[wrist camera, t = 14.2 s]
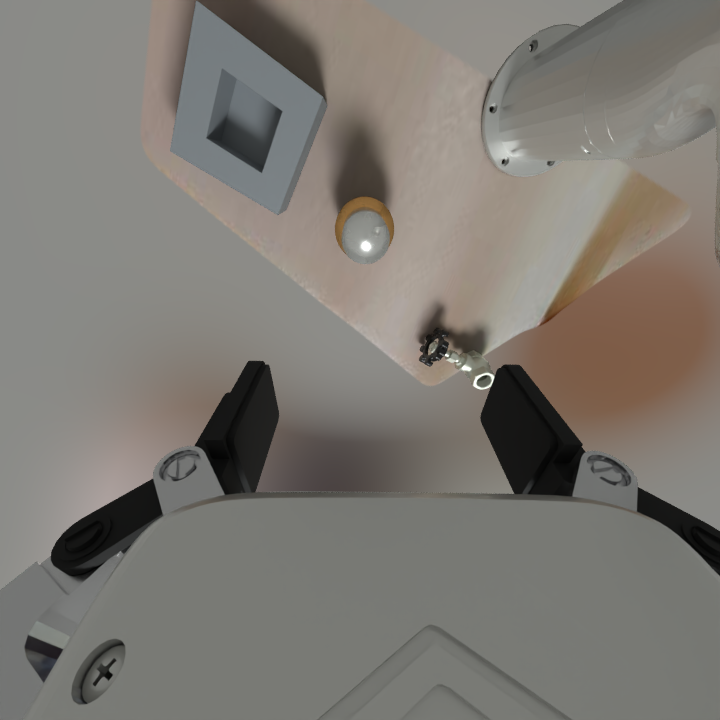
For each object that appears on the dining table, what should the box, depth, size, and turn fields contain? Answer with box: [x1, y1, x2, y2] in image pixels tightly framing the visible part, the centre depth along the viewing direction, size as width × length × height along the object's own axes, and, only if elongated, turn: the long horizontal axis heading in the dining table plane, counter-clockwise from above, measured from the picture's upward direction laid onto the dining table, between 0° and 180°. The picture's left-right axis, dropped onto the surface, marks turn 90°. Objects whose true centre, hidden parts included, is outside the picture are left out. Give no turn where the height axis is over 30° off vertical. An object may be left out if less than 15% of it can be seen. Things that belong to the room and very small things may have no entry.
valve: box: [419, 328, 495, 390], centre depth 48 cm, size 7×7×12 cm
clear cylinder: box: [335, 196, 394, 264], centre depth 35 cm, size 7×7×10 cm
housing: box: [170, 0, 327, 215], centre depth 31 cm, size 12×12×5 cm
